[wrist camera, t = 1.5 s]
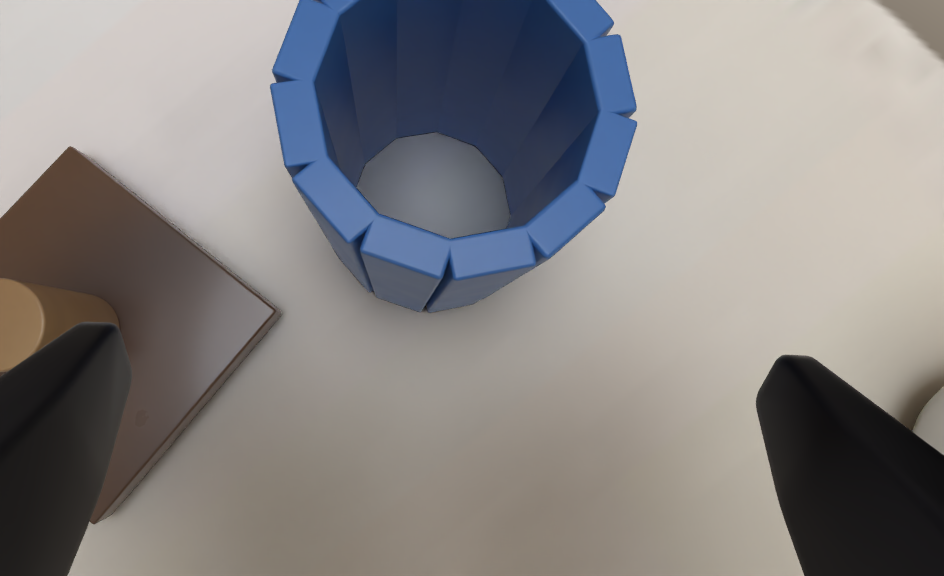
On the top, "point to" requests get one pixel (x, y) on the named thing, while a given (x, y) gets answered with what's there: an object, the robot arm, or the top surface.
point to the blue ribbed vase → (454, 128)
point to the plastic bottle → (932, 422)
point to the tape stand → (124, 304)
